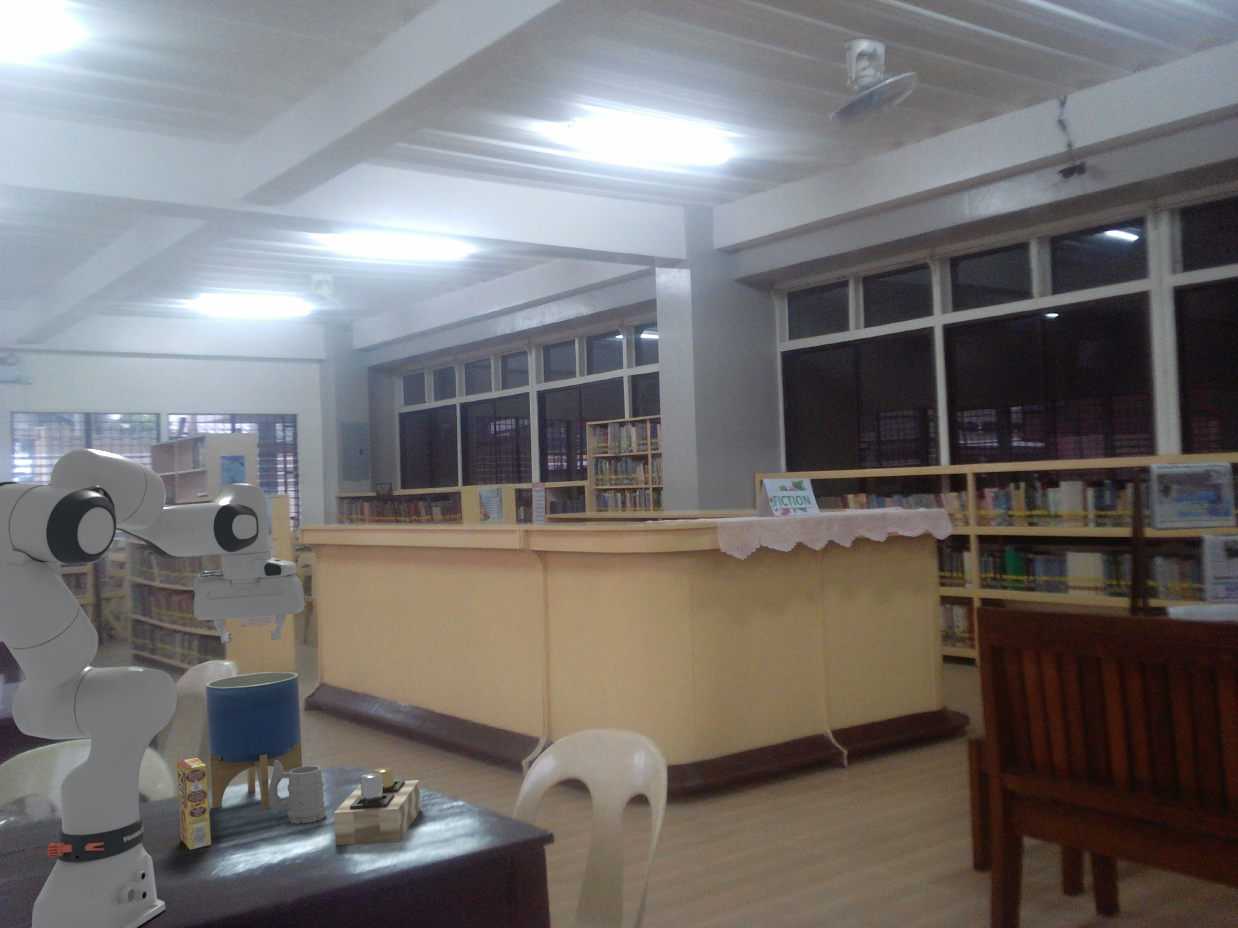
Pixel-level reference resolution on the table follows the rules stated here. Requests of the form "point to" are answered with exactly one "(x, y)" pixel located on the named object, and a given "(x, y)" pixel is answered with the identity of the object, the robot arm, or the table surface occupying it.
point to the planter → (252, 729)
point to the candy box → (193, 803)
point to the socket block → (378, 815)
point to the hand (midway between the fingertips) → (251, 640)
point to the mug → (299, 793)
